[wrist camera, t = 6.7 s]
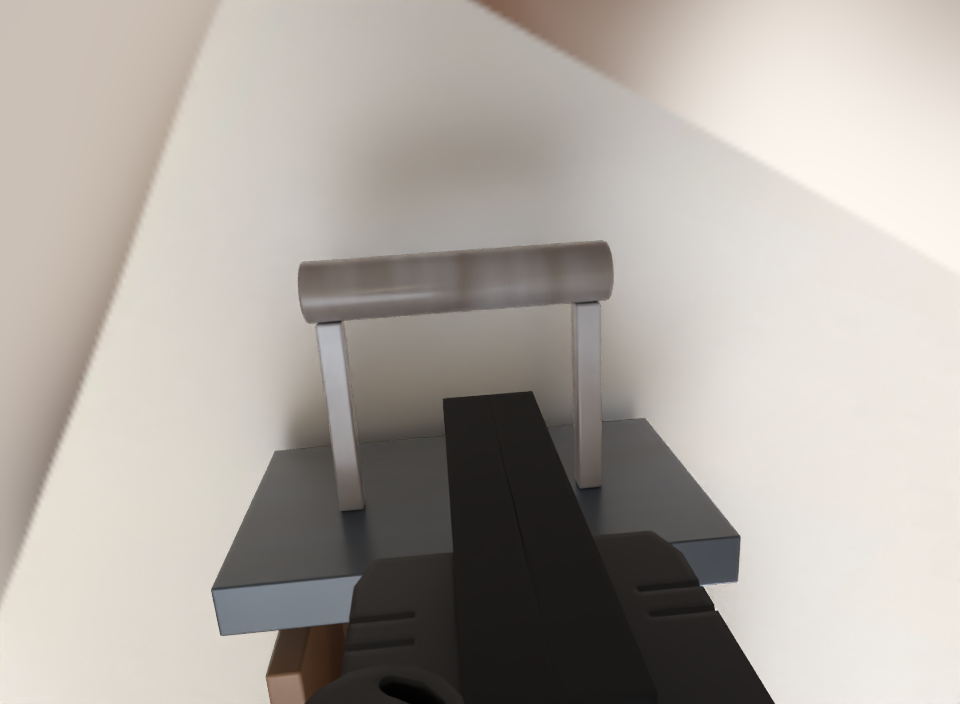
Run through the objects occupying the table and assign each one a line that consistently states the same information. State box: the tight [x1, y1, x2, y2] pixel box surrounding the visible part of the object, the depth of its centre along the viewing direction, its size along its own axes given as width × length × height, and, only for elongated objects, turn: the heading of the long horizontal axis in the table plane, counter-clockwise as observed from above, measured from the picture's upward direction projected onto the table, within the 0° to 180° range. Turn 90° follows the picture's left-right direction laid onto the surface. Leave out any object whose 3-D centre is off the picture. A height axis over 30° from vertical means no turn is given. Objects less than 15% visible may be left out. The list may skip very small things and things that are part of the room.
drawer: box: [211, 240, 741, 704], centre depth 19 cm, size 20×11×7 cm, turn 3°
